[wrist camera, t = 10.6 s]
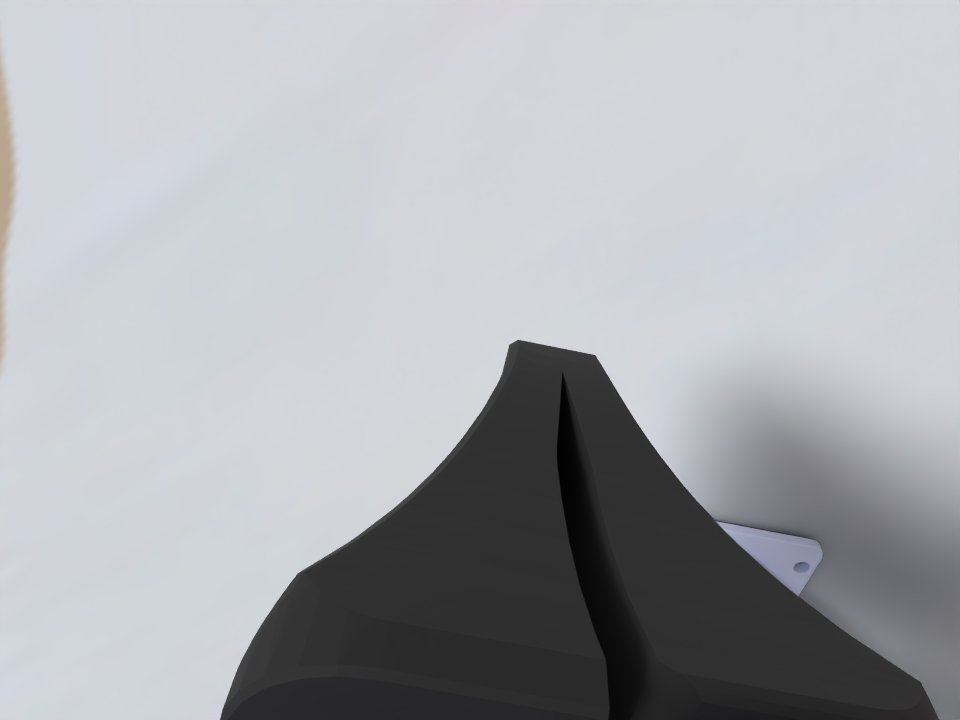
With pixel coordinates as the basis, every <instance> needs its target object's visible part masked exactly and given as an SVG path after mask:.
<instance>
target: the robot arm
mask: <svg viewBox="0 0 960 720" xmlns="http://www.w3.org/2000/svg"><path fill="white" fill-rule="evenodd" d="M822 557H823V552H822V549H821V547H820V544H819V543H818V542H817V541H815V540H812V539H807V538H802V537H796V536H791V535H786V534H781V533H775V532H770V531H765V530H759V529H754V528H749V527H744V526H738V525H733V524H728V523H722V522H717V521H715V520H714V519H713V518H712V517H711V516H710V515H709V513H708V512H707V511H706V510H705V509H704V508H703V507H702V506H701V505H700V504H699V503H698V502H697V501H696V500H695V498H694V497H693V496H692V495H691V494H690V493H689V491H688V490H687V489H686V488H685V487H684V486H683V484H682V483H681V482H680V481H679V479H678V478H677V477H676V476H675V474H674V473H673V472H672V471H671V469H670V468H669V467H668V465H667V464H666V463H665V462H664V460H663V459H662V458H661V456H660V455H659V454H658V452H657V451H656V450H655V448H654V447H653V445H652V444H651V443H650V441H649V440H648V439H647V437H646V436H645V434H644V433H643V431H642V430H641V428H640V427H639V425H638V424H637V422H636V421H635V419H634V418H633V416H632V415H631V413H630V411H629V410H628V408H627V407H626V405H625V403H624V402H623V400H622V398H621V397H620V395H619V394H618V392H617V390H616V389H615V387H614V385H613V384H612V382H611V380H610V379H609V377H608V375H607V374H606V372H605V370H604V369H603V367H602V365H601V364H600V362H599V361H598V359H597V357H596V356H595V355H592V354H587V353H582V352H577V351H572V350H567V349H561V348H556V347H551V346H546V345H541V344H536V343H531V342H526V341H521V340H517V341H515V342H514V343H512V344H510V345H509V349H508V353H507V357H506V361H505V365H504V369H503V373H502V376H501V378H500V380H499V382H498V384H497V386H496V388H495V389H494V391H493V393H492V395H491V396H490V398H489V400H488V402H487V403H486V405H485V407H484V408H483V410H482V411H481V413H480V414H479V416H478V417H477V419H476V420H475V421H474V423H473V424H472V425H471V427H470V428H469V430H468V431H467V432H466V434H465V435H464V437H463V438H462V439H461V441H460V442H459V443H458V444H457V445H456V447H455V448H454V449H453V450H452V452H451V453H450V454H449V455H448V456H447V457H446V458H445V460H444V461H443V462H442V463H441V464H440V465H439V466H438V467H437V468H436V469H435V470H434V472H433V473H432V474H431V475H430V476H429V477H428V478H427V479H425V480H424V481H423V482H422V483H421V484H420V485H419V486H418V487H417V488H416V489H415V490H414V491H413V492H412V493H411V494H410V495H409V496H408V497H407V498H405V499H404V500H403V501H402V502H401V503H400V504H399V505H397V506H396V507H395V508H394V509H393V510H391V511H390V512H389V513H387V514H386V515H385V516H383V517H382V518H381V519H379V520H378V521H377V522H376V523H374V524H373V525H372V526H370V527H369V528H368V529H366V530H365V531H364V532H362V533H361V534H360V535H359V536H357V537H356V538H354V539H353V540H351V541H350V542H348V543H347V544H345V545H344V546H342V547H340V548H339V549H337V550H336V551H334V552H332V553H331V554H329V555H327V556H326V557H324V558H322V559H321V560H319V561H317V562H316V563H314V564H313V565H311V566H309V567H308V568H306V569H304V570H303V571H301V572H299V573H298V574H297V575H296V577H295V578H294V579H293V581H292V582H291V583H290V585H289V586H288V587H287V589H286V590H285V591H284V593H283V594H282V596H281V597H280V598H279V600H278V601H277V602H276V604H275V605H274V607H273V608H272V610H271V611H270V613H269V614H268V616H267V617H266V619H265V620H264V622H263V623H262V625H261V626H260V628H259V630H258V631H257V633H256V635H255V636H254V638H253V640H252V642H251V644H250V646H249V647H248V649H247V651H246V653H245V655H244V657H243V659H242V661H241V663H240V665H239V667H238V669H237V672H236V675H235V677H234V680H233V683H232V685H231V688H230V691H229V694H228V696H227V699H226V702H225V705H224V707H223V710H222V714H221V718H220V720H939V719H938V717H937V714H936V712H935V710H934V708H933V706H932V704H931V702H930V700H929V698H928V696H927V694H926V692H925V690H924V688H923V686H922V684H921V682H919V681H918V680H916V679H915V678H913V677H912V676H910V675H909V674H907V673H906V672H904V671H903V670H901V669H900V668H898V667H897V666H895V665H894V664H892V663H891V662H889V661H888V660H886V659H885V658H883V657H882V656H880V655H879V654H877V653H876V652H874V651H873V650H871V649H870V648H868V647H867V646H865V645H864V644H862V643H861V642H859V641H858V640H856V639H855V638H853V637H852V636H850V635H849V634H847V633H846V632H844V631H843V630H842V629H840V628H839V627H838V626H836V625H835V624H834V623H832V622H831V621H830V620H828V619H827V618H826V617H824V616H823V615H822V614H821V613H819V612H818V611H817V610H815V609H814V608H813V607H811V606H810V605H809V604H807V603H806V602H805V601H804V600H802V599H801V598H800V597H798V596H799V594H800V593H801V591H802V590H803V588H804V587H805V585H806V583H807V582H808V580H809V579H810V577H811V575H812V574H813V572H814V571H815V569H816V568H817V566H818V564H819V563H820V561H821V560H822ZM800 562H803V563H800ZM797 563H800V564H797Z"/></svg>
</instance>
